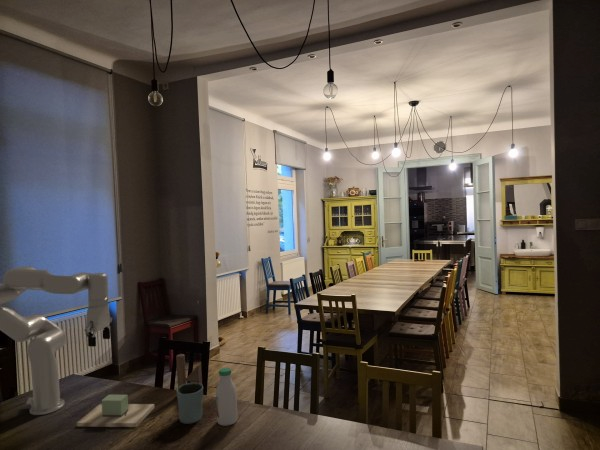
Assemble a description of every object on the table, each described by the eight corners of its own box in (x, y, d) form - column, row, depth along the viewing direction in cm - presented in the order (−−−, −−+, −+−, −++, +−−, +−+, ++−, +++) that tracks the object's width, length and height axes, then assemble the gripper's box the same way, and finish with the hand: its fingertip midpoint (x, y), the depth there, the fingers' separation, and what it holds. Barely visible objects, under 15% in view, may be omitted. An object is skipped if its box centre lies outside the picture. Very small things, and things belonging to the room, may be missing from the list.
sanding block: (102, 416, 159) (101, 400, 159) (109, 410, 164) (108, 394, 164) (121, 416, 158) (120, 400, 158) (128, 410, 163) (127, 394, 163)
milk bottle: (241, 417, 156) (239, 367, 156) (230, 428, 149) (227, 374, 149) (225, 414, 160) (222, 364, 159) (213, 424, 153) (210, 372, 152)
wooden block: (199, 398, 175) (197, 357, 174) (176, 397, 177) (174, 356, 176) (203, 394, 179) (200, 354, 178) (180, 393, 180) (178, 353, 180)
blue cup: (185, 410, 164) (184, 381, 164) (209, 412, 162) (207, 382, 162) (173, 424, 154) (171, 393, 154) (197, 425, 152) (196, 394, 152)
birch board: (76, 426, 155) (76, 422, 155) (99, 407, 170) (99, 403, 170) (136, 427, 153) (136, 423, 153) (154, 407, 168) (154, 404, 168)
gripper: (102, 298, 181) (103, 336, 181) (76, 307, 163) (77, 349, 164) (118, 298, 180) (119, 336, 180) (93, 307, 162) (94, 349, 163)
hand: (99, 342), depth 172 cm, fingers open, 9 cm apart
